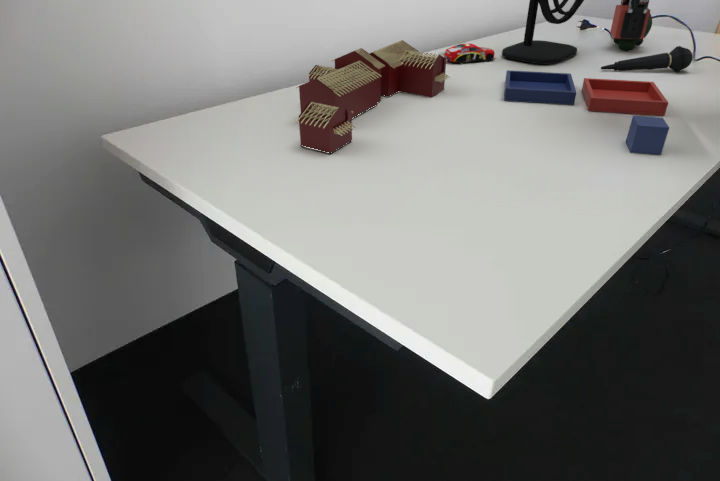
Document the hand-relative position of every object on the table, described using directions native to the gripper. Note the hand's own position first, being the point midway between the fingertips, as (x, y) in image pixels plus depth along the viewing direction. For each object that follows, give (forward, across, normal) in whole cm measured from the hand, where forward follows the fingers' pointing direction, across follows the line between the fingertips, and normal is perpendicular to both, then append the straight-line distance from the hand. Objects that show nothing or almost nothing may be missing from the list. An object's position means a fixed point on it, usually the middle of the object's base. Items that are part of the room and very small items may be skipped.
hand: (627, 33), depth 93 cm
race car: (+15, +37, +28) cm, 49 cm away
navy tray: (+15, +13, +12) cm, 23 cm away
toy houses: (+15, -4, +46) cm, 49 cm away
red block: (0, 0, 0) cm, 0 cm away
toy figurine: (+15, +61, -14) cm, 64 cm away
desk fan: (+15, +45, +9) cm, 48 cm away
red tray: (+15, +10, -4) cm, 18 cm away
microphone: (+15, +36, -13) cm, 41 cm away
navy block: (+15, -14, -3) cm, 21 cm away
